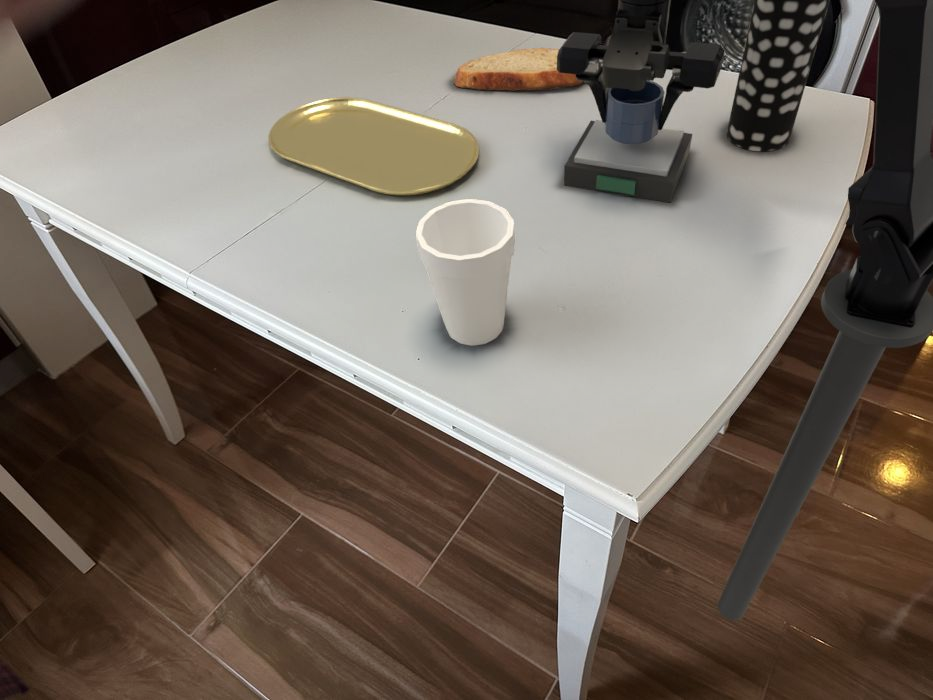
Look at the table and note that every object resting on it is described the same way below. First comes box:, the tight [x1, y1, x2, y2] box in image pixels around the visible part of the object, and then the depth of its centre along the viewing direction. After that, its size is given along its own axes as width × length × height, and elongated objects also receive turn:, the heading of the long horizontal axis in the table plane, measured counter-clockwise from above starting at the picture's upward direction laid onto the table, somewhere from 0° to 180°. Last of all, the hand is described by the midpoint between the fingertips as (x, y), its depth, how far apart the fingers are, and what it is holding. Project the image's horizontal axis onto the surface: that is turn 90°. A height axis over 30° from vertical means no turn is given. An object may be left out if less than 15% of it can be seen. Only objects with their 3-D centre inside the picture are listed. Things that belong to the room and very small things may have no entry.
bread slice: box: [453, 47, 585, 92], centre depth 111 cm, size 18×18×4 cm
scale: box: [563, 119, 693, 204], centre depth 91 cm, size 14×12×4 cm
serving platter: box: [268, 96, 480, 196], centre depth 101 cm, size 19×35×2 cm, turn 55°
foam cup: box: [415, 198, 516, 347], centre depth 70 cm, size 10×9×13 cm
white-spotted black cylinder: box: [726, 0, 831, 152], centre depth 88 cm, size 8×8×20 cm
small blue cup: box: [605, 80, 666, 144], centre depth 86 cm, size 7×7×6 cm
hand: (632, 124), depth 87 cm, fingers closed on small blue cup, 7 cm apart
